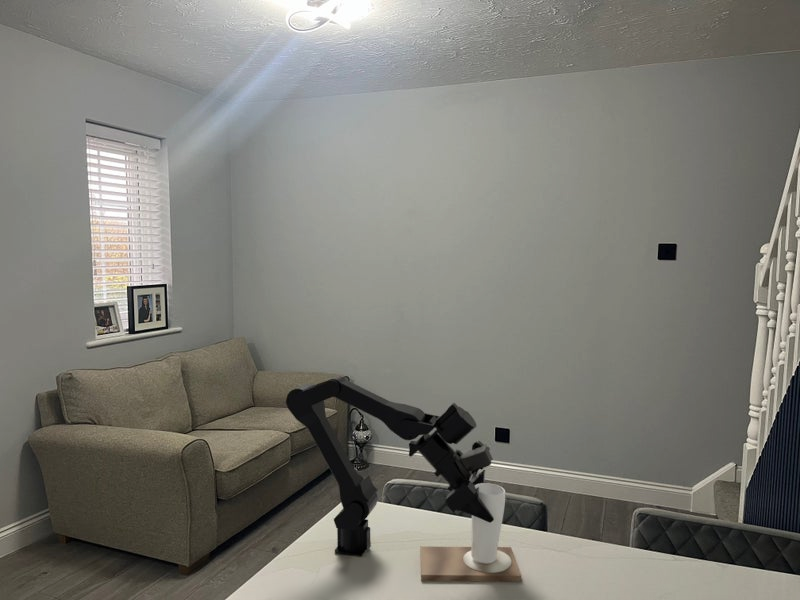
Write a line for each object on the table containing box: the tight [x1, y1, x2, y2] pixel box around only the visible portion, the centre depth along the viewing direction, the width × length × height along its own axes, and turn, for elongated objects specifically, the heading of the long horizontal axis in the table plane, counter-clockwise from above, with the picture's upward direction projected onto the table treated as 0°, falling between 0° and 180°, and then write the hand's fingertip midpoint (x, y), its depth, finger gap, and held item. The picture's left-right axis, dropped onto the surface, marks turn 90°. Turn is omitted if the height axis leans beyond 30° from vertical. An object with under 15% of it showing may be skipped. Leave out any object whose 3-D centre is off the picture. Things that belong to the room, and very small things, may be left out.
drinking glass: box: [471, 482, 506, 564], centre depth 125 cm, size 7×7×15 cm
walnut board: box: [419, 546, 522, 583], centre depth 125 cm, size 20×12×1 cm, turn 89°
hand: (494, 514), depth 124 cm, fingers closed on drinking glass, 7 cm apart
